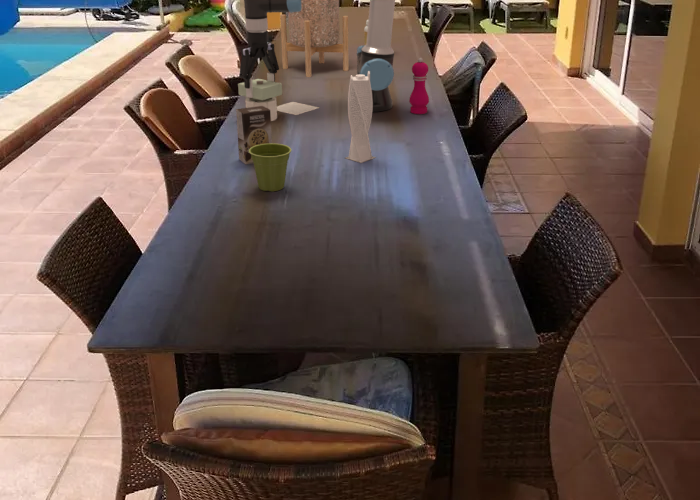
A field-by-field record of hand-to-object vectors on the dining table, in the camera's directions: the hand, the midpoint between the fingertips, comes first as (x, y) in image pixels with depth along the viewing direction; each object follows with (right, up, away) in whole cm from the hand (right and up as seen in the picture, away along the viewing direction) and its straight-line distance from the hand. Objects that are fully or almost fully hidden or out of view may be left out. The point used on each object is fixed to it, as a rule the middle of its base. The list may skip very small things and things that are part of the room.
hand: (260, 94), depth 282 cm
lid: (0, 0, 0) cm, 0 cm away
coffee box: (+3, -28, -37) cm, 46 cm away
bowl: (0, -8, +4) cm, 9 cm away
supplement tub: (+45, +38, +102) cm, 118 cm away
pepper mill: (+58, -5, +11) cm, 59 cm away
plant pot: (+10, -38, -59) cm, 71 cm away
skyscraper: (+35, -28, -37) cm, 58 cm away
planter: (+16, +26, +76) cm, 82 cm away
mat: (+11, -3, +16) cm, 19 cm away
